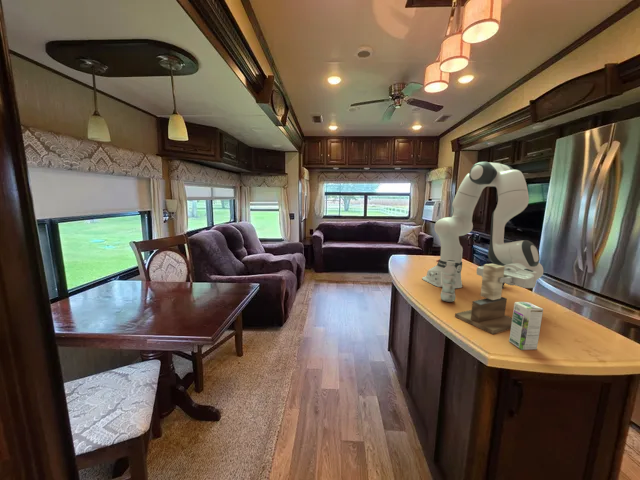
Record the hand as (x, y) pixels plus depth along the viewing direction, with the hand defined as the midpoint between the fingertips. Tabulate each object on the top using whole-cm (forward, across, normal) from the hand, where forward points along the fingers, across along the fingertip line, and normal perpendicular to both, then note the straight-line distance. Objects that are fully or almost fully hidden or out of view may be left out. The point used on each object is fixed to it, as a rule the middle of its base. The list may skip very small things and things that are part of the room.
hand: (491, 278), depth 107 cm
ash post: (-1, 0, +8) cm, 8 cm away
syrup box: (+6, +17, +18) cm, 26 cm away
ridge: (-1, 0, +18) cm, 18 cm away
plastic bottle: (-4, -22, +18) cm, 29 cm away
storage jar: (-48, -28, +18) cm, 58 cm away
